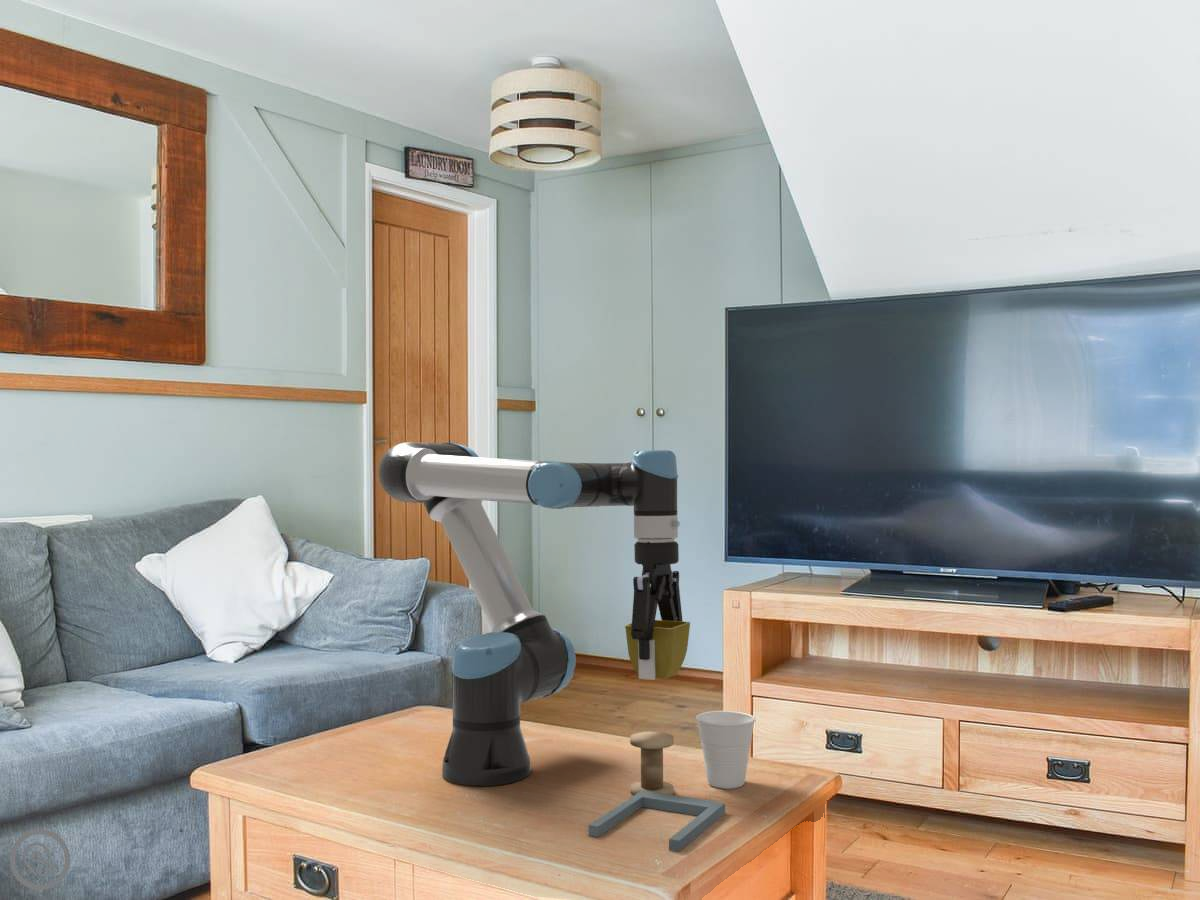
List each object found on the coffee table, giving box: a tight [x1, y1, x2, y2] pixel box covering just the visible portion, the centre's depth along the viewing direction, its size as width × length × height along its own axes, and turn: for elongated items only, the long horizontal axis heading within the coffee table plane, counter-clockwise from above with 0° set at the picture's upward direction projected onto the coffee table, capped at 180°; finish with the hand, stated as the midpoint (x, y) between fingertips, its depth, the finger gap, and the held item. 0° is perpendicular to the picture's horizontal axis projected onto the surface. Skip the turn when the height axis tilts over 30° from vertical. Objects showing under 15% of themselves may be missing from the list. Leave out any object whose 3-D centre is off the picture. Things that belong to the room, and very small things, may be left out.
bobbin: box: [629, 731, 675, 797], centre depth 164 cm, size 7×7×9 cm
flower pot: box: [624, 619, 691, 680], centre depth 172 cm, size 9×9×9 cm
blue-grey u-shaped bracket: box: [587, 790, 726, 853], centre depth 149 cm, size 18×14×2 cm
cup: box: [695, 710, 756, 790], centre depth 169 cm, size 10×10×11 cm
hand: (658, 674), depth 172 cm, fingers closed on flower pot, 8 cm apart
